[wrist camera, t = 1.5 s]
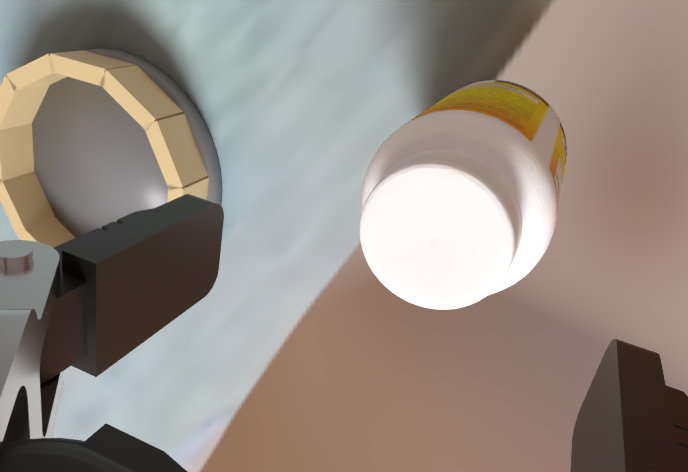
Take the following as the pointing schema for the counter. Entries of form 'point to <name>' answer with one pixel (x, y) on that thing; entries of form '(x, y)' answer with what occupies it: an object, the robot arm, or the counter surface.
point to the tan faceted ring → (97, 143)
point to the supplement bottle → (464, 195)
